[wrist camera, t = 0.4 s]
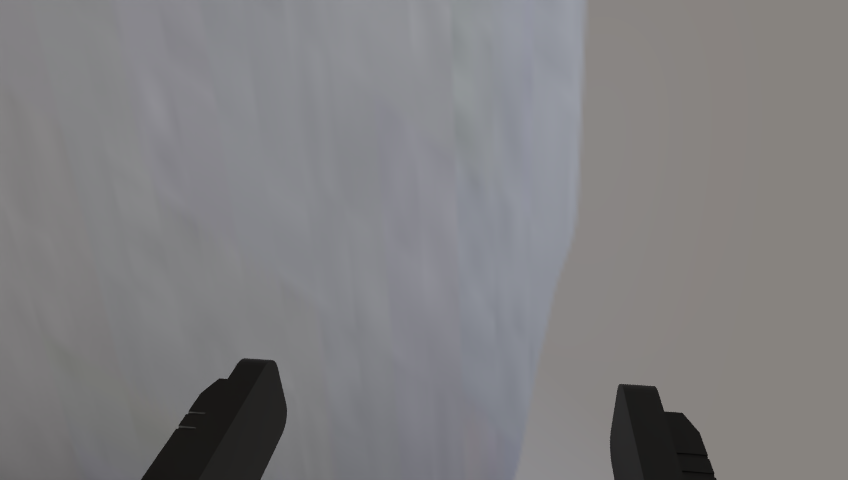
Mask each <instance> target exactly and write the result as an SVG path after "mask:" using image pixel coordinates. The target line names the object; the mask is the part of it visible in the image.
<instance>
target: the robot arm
mask: <svg viewBox="0 0 848 480" xmlns="http://www.w3.org/2000/svg"><path fill="white" fill-rule="evenodd" d="M286 417H287V406H286V401H285V397H284V393H283V389H282V384H281V380H280V376H279V371H278V367H277V364H276V362H275V361H273V360H261V359H246V358H244V359H242V360H240V361H239V363H238V364H237V366H236V367H235V369H234V370H233V372H232V373H231V375H230V376H229V378H228V379H220V378H219V379H218V380H217V381H216V382H214V383H213V384H212V385H211V386H209V387H208V388H207V389H206V390H204V391H203V392H202V393H201V394H200V395H199V397H198V398H197V400H196V401H195V402H194V404H193V405H192V407H191V408H190V410H189V413H188V414H186V415H185V417H184V418H183V420H182V421H181V423H180V424H179V428H178V429H176V430H175V431H174V433H173V434H172V436H171V437H170V439H169V440H168V441H167V443H166V444H165V446H164V447H163V449H162V450H161V452H160V453H159V454H158V456H157V457H156V459H155V460H154V462H153V463H152V465H151V466H150V467H149V469H148V470H147V472H146V473H145V475H144V476H143V478H142V479H141V480H260V479H261V477H262V475H263V473H264V471H265V469H266V467H267V465H268V463H269V460H270V458H271V456H272V454H273V452H274V450H275V448H276V446H277V444H278V441H279V439H280V437H281V435H282V433H283V430H284V427H285V424H286ZM610 452H611V462H612V468H613V474H614V480H716V478H715V477H714V471H713V469H712V466H711V463H710V461H709V459H708V457H707V456H708V455H707V452H706V449H705V446H704V444H703V441H702V438H701V436H700V433H699V432H698V431H697V429H696V428H695V427H694V426H693V425H692V424H691V422H690V421H689V420H688V419H687V418H686V417H685V415H684V414H683V413H676V412H664V410H663V406H662V403H661V400H660V397H659V394H658V390H657V388H656V387H655V386H642V385H628V384H627V385H626V384H619V386H618V390H617V395H616V402H615V408H614V415H613V421H612V428H611V436H610Z"/></svg>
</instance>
